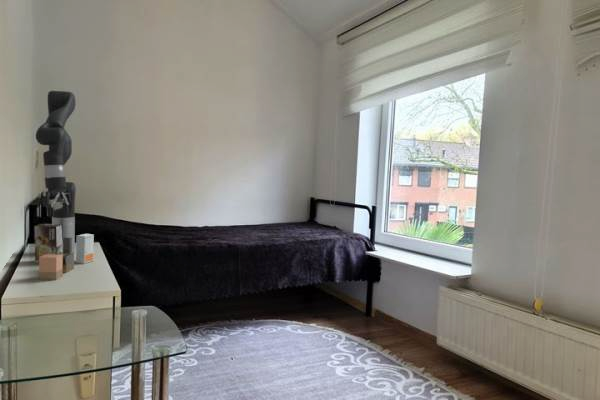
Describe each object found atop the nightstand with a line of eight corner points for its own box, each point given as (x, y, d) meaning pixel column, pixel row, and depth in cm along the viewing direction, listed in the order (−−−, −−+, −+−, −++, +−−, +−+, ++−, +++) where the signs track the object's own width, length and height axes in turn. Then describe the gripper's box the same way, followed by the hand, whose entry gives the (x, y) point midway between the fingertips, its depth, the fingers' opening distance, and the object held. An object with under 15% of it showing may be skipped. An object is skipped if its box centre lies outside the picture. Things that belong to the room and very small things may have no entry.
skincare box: (84, 264, 185) (84, 236, 184) (75, 263, 186) (75, 235, 185) (94, 261, 191) (94, 234, 190) (85, 260, 192) (85, 233, 191)
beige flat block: (66, 257, 179) (66, 236, 178) (73, 257, 179) (73, 237, 178) (53, 264, 167) (53, 242, 166) (60, 264, 167) (60, 242, 166)
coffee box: (63, 260, 189) (63, 224, 188) (56, 264, 183) (56, 226, 181) (41, 260, 188) (41, 223, 187) (33, 263, 182) (33, 225, 180)
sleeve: (62, 268, 177) (62, 252, 176) (73, 268, 177) (73, 252, 177) (54, 272, 170) (54, 256, 169) (66, 272, 170) (66, 256, 170)
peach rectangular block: (45, 276, 165) (45, 254, 164) (62, 276, 166) (62, 254, 165) (39, 279, 160) (39, 257, 159) (56, 280, 161) (56, 257, 160)
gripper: (58, 176, 187) (62, 214, 188) (33, 177, 173) (37, 217, 174) (74, 175, 186) (78, 213, 187) (50, 176, 172) (54, 217, 173)
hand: (58, 215), depth 180 cm, fingers open, 8 cm apart
